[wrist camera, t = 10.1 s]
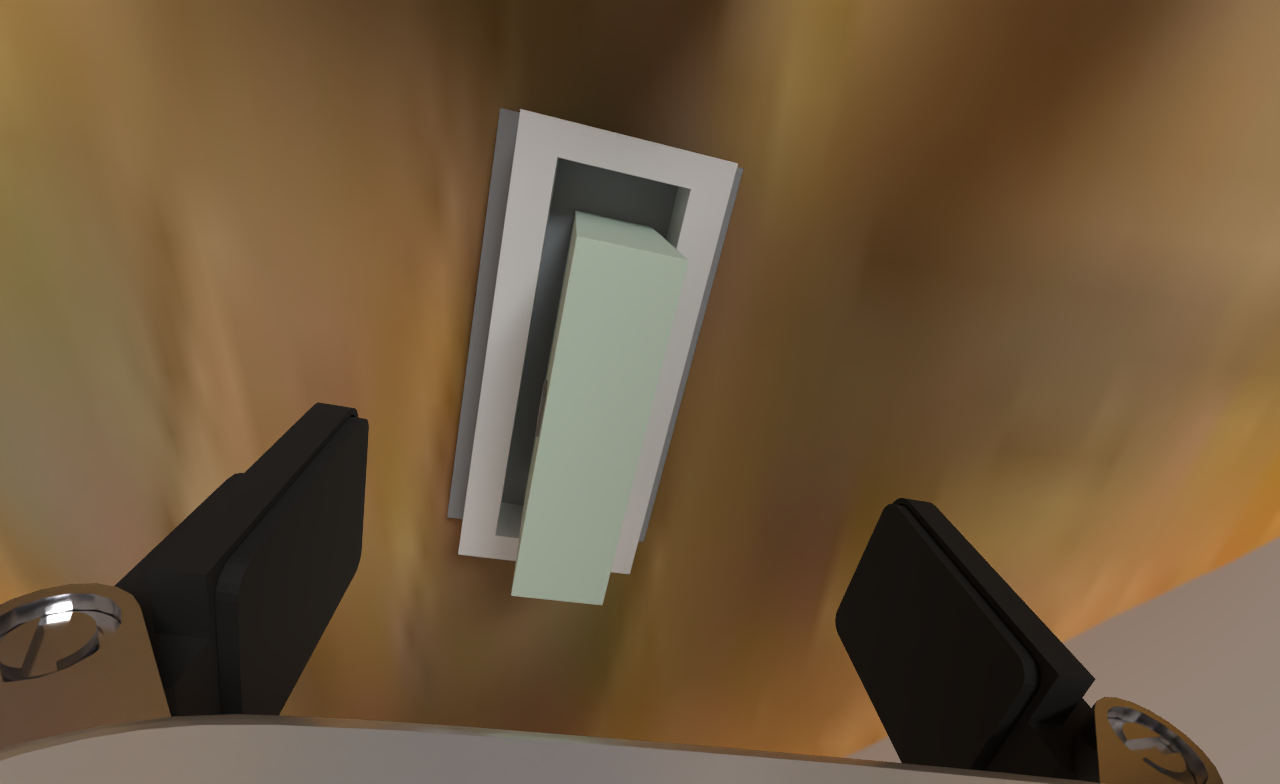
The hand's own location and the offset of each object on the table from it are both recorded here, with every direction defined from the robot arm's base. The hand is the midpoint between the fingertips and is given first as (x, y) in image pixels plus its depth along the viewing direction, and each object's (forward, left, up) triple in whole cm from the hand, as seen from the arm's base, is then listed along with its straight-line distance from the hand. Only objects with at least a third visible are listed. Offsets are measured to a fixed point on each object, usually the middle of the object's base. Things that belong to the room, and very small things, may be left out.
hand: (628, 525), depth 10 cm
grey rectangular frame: (0, +1, -13) cm, 12 cm away
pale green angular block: (0, +1, -12) cm, 12 cm away
